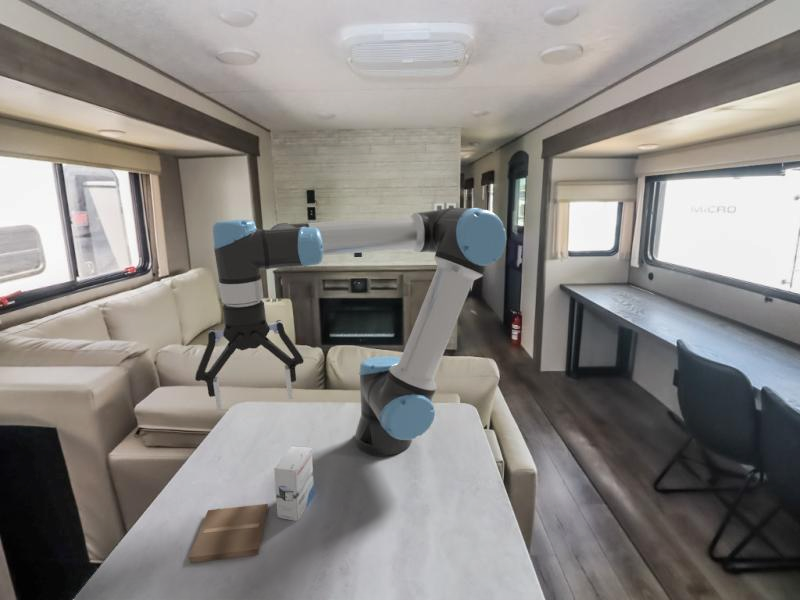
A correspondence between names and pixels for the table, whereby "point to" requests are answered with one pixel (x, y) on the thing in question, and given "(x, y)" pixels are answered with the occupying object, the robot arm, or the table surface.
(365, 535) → the table surface
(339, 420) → the table surface
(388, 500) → the table surface
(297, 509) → the ink box
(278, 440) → the table surface
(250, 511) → the cardboard box
